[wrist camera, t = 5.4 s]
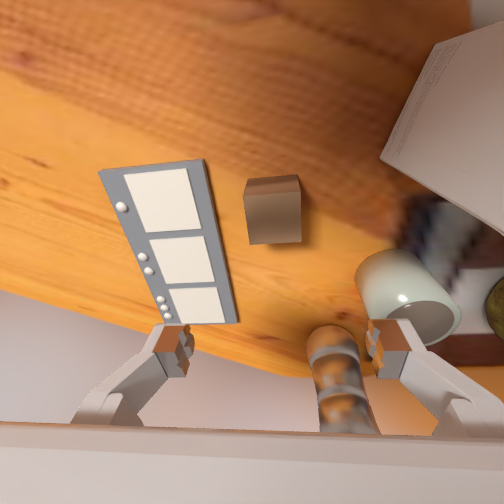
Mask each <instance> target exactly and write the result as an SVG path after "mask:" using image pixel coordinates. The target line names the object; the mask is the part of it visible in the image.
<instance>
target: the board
mask: <svg viewBox="0 0 504 504" xmlns="http://www.w3.org/2000/svg"><path fill="white" fill-rule="evenodd" d="M98 174H99V176H100V178H101V181H102V183H103V185H104V187H105V190H106V192H107V194H108V196H109V199H110V201H111V203H112V205H113V208H114V210H115V212H116V214H117V217H118V219H119V221H120V223H121V226H122V228H123V230H124V232H125V235H126V237H127V239H128V241H129V244H130V246H131V248H132V250H133V253H134V255H135V257H136V259H137V262H138V264H139V266H140V268H141V270H142V273H143V275H144V277H145V279H146V282H147V284H148V286H149V288H150V291H151V293H152V295H153V297H154V300H155V302H156V304H157V306H158V309H159V311H160V313H161V315H162V318H163V320H164V322H165V323H187V324H189V325H206V324H237V323H238V317H237V312H236V307H235V302H234V298H233V293H232V288H231V284H230V279H229V274H228V270H227V265H226V260H225V256H224V251H223V246H222V242H221V237H220V232H219V228H218V223H217V218H216V214H215V209H214V204H213V199H212V195H211V190H210V185H209V181H208V176H207V171H206V167H205V162H204V159H195V160H186V161H177V162H168V163H158V164H149V165H140V166H131V167H121V168H112V169H103V170H101V171H98Z"/></svg>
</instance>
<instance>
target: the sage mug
mask: <svg viewBox="0 0 504 504" xmlns="http://www.w3.org/2000/svg"><path fill="white" fill-rule="evenodd" d="M355 284H356V287H357V289H358V292H359V294H360V297H361V299H362V302H363V304H364V306H365V309H366V311H367V314H368V316H369V319H401V318H407V319H408V320H409V321H410V322H411V324H412V326H413V327H414V329H415V331H416V332H417V334H418V336H419V337H420V339H421V341H422V343H423V344H424V346H429V345H432V344H434V343H437V342H439V341H441V340H443V339H444V338H446V337H447V336H449V335H450V334H451V333H452V332H453V331H454V330H455V329H456V328H457V327H458V325H459V323H460V320H461V310H460V308H459V306H458V305H457V304H456V303H455V302H454V300H453V299H452V298H451V297H450V296H449V294H448V293H447V292H446V291H445V290H444V288H443V287H442V286H441V285H440V284H439V283H438V281H437V280H436V279H435V278H434V277H433V275H432V274H431V273H430V272H429V271H428V269H427V268H426V267H425V266H424V265H423V263H422V262H421V261H420V260H419V259H418V258H417V256H416V255H414V254H413V253H411V252H409V251H406V250H402V249H388V250H383V251H380V252H377V253H375V254H373V255H371V256H370V257H368V258H367V259H365V260H364V261H363V262H362V263H361V264H360V266H359V267H358V269H357V271H356V273H355Z"/></svg>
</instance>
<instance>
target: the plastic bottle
mask: <svg viewBox="0 0 504 504" xmlns="http://www.w3.org/2000/svg"><path fill="white" fill-rule="evenodd" d="M306 354H307V358H308V361H309V365H310V368H311V370H312V374H313V378H314V383H315V388H316V392H317V400H318V407H319V408H318V411H319V422H320V432H322V433H351V434H379V435H381V433H380V430H379V428H378V426H377V423H376V421H375V418H374V415H373V412H372V409H371V406H370V404H369V400H368V398H367V395H366V392H365V387H364V383H363V378H362V373H361V368H360V357H359V351H358V346H357V344H356V342H355V340H354V338H353V337H352V335H351V334H350V333H349V332H348V331H346V330H345V329H343V328H342V327H339V326H335V325H325V326H321V327H318V328H317V329H315V330H314V331H313V332H312V333H311V334H310V336H309V337H308V339H307V347H306Z"/></svg>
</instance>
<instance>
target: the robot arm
mask: <svg viewBox="0 0 504 504" xmlns="http://www.w3.org/2000/svg"><path fill="white" fill-rule="evenodd" d="M367 326H368V329H369V330H368V331H367V332H366V336H365V342H366V348H367V351H368V354H369V355H370V356H371V357H372V358H373V361H372V365H373V368H374V371H375V374H376V376H377V379H399V381H400V382H401V383H402V384H403V385H404V386H405V387H406V388H407V389H408V390H409V391H410V392H411V393H412V394H413V395H414V396H415V397H416V398H417V399H418V400H419V401H420V402H421V403H422V404H423V405H424V406H425V407H426V408H427V409H428V410H429V411H430V412H431V413H432V414H433V415H434V416H435V417H436V418H437V419H438V420H439V423H438V424H437V426H436V428H435V430H434V431H433V433H432V436H408V435H379V434H351V433H322V432H294V431H292V432H291V431H264V430H234V429H206V428H177V427H147V426H143V423H142V421H141V419H140V418H139V417H138V416H137V413H138V412H139V411H140V410H141V409H142V408H143V406H144V405H145V404H146V403H147V402H148V401H149V399H150V398H151V397H152V396H153V395H154V394H155V393H156V392H157V390H158V389H159V388H160V387H161V386H162V385H163V384H164V382H165V381H166V380H167V379H168V378H169V377H186V374H187V370H188V367H189V361H188V359H189V358H190V357H191V356H192V355H193V351H194V345H195V342H194V337H193V335H192V334H191V333H190V329H191V328H190V326H189V324H187V323H157V324H156V325H155V326H154V328H153V330H152V332H151V334H150V336H149V338H148V340H147V342H146V343H145V345H144V347H143V349H142V351H141V353H137V354H136V355H135V356H133V357H132V358H131V359H130V360H128V361H127V362H126V363H125V364H123V365H122V366H121V367H120V368H118V369H117V370H116V371H115V372H114V373H112V374H111V375H110V376H108V377H107V378H106V379H105V380H103V381H102V382H101V383H100V384H98V385H97V386H96V387H95V388H93V389H92V390H91V391H90V392H89V393H88V395H87V396H86V398H85V400H84V401H83V403H82V404H81V406H80V408H79V410H78V411H77V413H76V414H75V416H74V417H73V419H72V421H71V422H70V424H59V423H58V424H57V423H29V422H4V421H0V504H504V404H503V403H502V402H501V400H500V399H499V398H498V397H496V396H495V395H493V394H492V393H490V392H489V391H487V390H486V389H485V388H483V387H482V386H481V385H479V384H478V383H476V382H475V381H473V380H472V379H470V378H469V377H467V376H466V375H465V374H463V373H462V372H460V371H459V370H458V369H456V368H455V367H453V366H452V365H450V364H449V363H448V362H446V361H445V360H443V359H442V358H440V357H439V356H438V355H436V354H435V353H433V352H432V351H427V349H426V348H425V346H424V344H423V343H422V341H421V339H420V337H419V336H418V334H417V332H416V331H415V329H414V327H413V326H412V324H411V322H410V321H409V320H408V319H407V318H401V319H369V321H368V324H367Z"/></svg>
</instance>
